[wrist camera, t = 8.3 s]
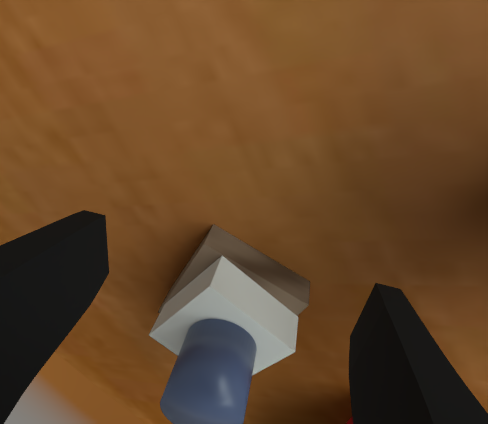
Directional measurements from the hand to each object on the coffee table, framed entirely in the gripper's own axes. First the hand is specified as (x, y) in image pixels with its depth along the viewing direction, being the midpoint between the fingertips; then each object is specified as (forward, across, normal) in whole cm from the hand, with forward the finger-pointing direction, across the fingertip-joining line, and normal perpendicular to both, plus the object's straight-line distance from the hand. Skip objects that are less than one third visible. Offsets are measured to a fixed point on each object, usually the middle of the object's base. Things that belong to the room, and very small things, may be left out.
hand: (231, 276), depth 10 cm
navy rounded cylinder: (+6, 0, +11) cm, 12 cm away
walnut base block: (+11, +1, +10) cm, 15 cm away
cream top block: (+8, +1, +11) cm, 14 cm away
